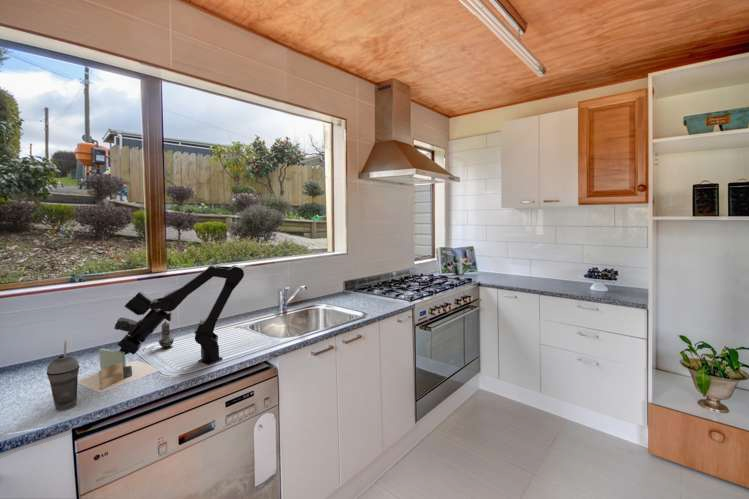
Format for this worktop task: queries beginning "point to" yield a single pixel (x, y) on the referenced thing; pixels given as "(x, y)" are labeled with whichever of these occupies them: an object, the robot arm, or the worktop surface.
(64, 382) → the beverage cup
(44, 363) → the worktop surface
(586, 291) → the worktop surface
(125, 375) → the tan dark-tipped bar
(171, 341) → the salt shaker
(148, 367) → the card
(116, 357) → the fence panel
